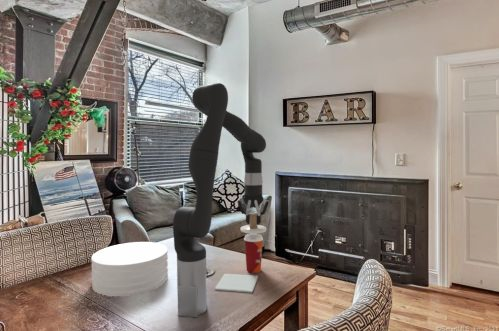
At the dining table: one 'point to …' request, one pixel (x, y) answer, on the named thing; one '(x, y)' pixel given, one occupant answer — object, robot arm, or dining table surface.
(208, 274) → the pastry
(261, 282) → the dining table surface
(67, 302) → the dining table surface
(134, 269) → the plate stack
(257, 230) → the cup lid
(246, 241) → the coffee cup
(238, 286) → the rubber mat
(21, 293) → the dining table surface
